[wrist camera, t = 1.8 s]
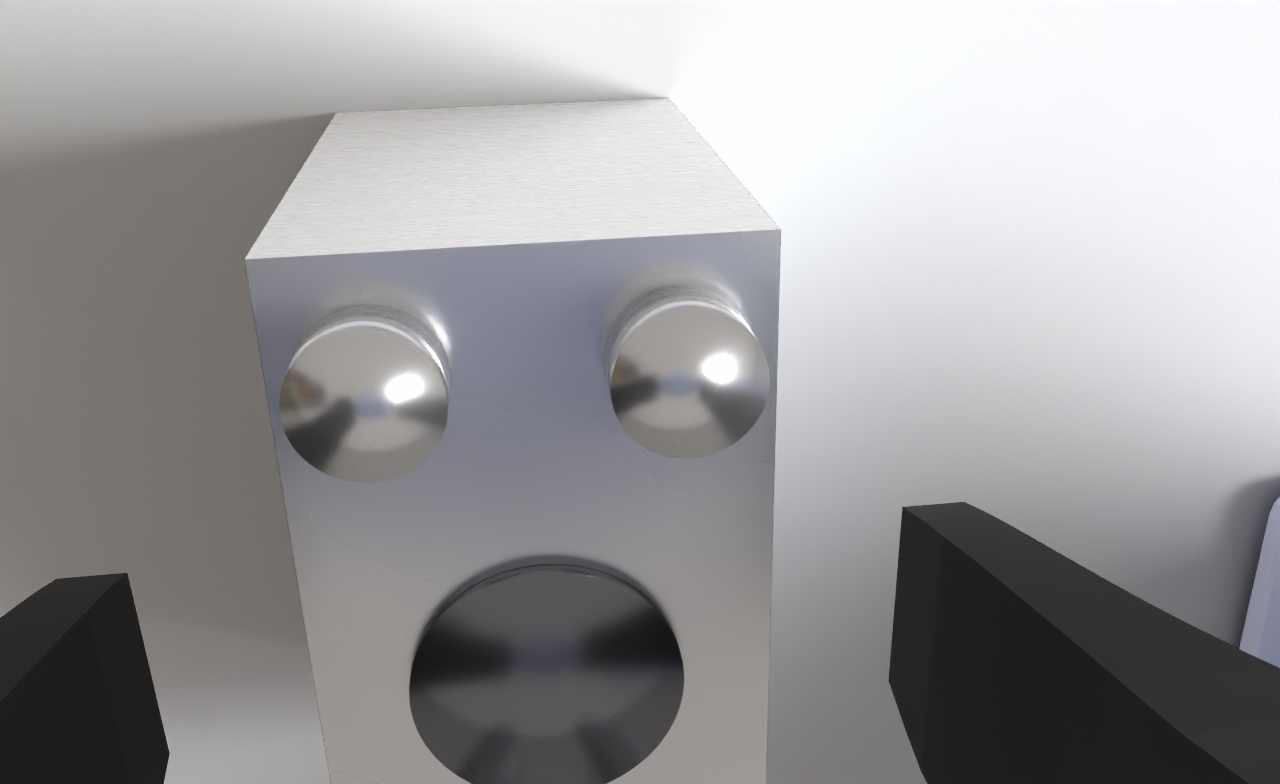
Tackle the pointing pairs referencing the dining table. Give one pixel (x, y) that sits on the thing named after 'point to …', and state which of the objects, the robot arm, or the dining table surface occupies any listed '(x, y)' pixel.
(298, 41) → the dining table surface
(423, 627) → the block
